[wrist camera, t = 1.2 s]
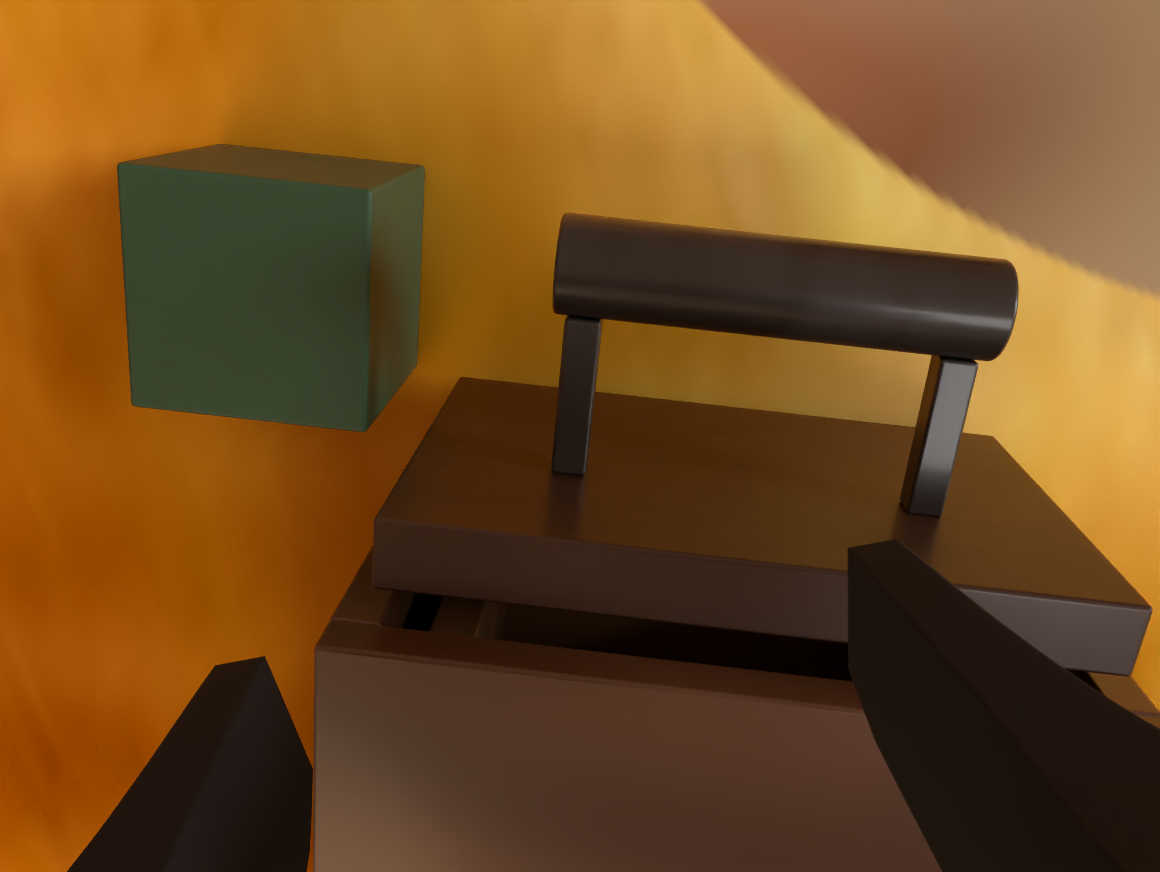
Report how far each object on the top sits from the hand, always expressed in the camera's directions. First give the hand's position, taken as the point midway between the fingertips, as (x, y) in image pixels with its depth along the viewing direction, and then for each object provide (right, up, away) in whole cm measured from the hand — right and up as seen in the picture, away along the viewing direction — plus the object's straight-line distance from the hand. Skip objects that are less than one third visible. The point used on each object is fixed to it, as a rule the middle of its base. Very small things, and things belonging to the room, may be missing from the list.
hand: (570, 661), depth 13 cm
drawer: (+3, -1, +11) cm, 11 cm away
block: (-6, +7, +9) cm, 13 cm away
